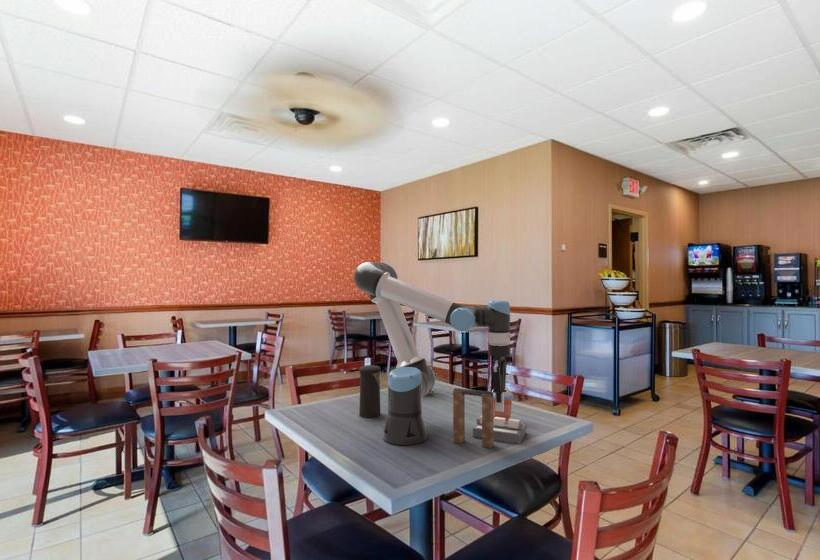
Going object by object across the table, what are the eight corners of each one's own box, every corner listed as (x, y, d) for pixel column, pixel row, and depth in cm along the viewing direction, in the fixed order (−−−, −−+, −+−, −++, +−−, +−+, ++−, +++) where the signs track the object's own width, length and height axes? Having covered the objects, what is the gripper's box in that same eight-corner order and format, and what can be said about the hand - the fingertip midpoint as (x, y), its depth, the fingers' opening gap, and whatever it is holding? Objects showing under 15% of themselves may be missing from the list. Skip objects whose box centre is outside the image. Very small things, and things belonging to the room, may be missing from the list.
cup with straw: (496, 426, 162) (496, 378, 162) (485, 419, 170) (485, 373, 171) (518, 424, 164) (517, 376, 164) (506, 417, 173) (506, 372, 173)
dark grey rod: (452, 393, 147) (452, 388, 147) (454, 392, 148) (454, 387, 148) (492, 398, 141) (492, 392, 141) (494, 396, 142) (494, 391, 142)
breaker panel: (472, 436, 151) (472, 422, 151) (482, 426, 161) (482, 413, 161) (519, 443, 144) (519, 428, 144) (526, 432, 154) (526, 418, 154)
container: (383, 416, 174) (383, 366, 175) (361, 419, 171) (361, 368, 171) (377, 410, 182) (377, 363, 183) (356, 413, 179) (356, 364, 179)
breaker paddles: (480, 423, 154) (480, 416, 154) (481, 421, 157) (481, 414, 157) (518, 428, 149) (518, 421, 149) (519, 426, 151) (519, 419, 151)
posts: (453, 442, 146) (452, 390, 146) (456, 438, 149) (456, 388, 149) (490, 448, 140) (490, 394, 140) (493, 444, 143) (493, 392, 143)
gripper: (505, 347, 145) (506, 417, 145) (513, 342, 157) (514, 407, 157) (483, 345, 149) (484, 414, 148) (493, 341, 160) (493, 405, 160)
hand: (499, 410), depth 153 cm, fingers closed
